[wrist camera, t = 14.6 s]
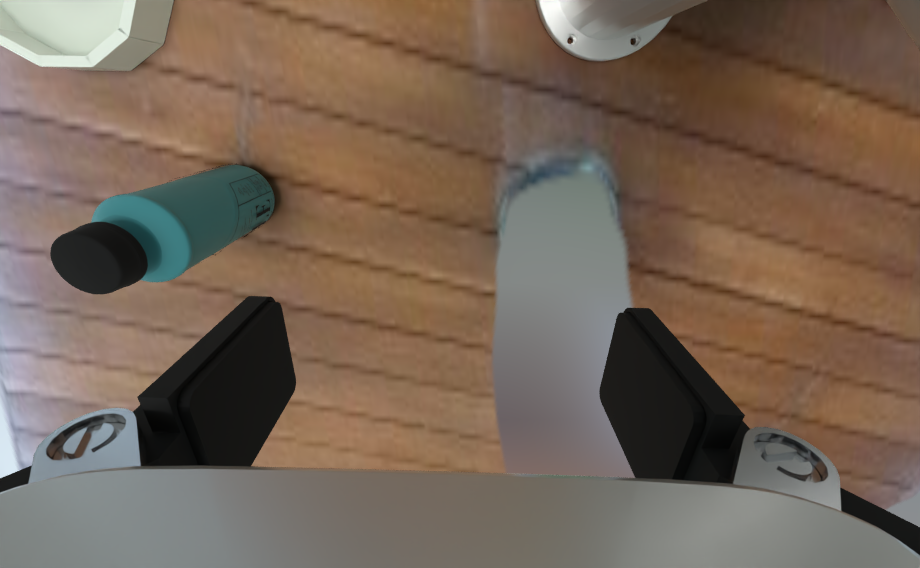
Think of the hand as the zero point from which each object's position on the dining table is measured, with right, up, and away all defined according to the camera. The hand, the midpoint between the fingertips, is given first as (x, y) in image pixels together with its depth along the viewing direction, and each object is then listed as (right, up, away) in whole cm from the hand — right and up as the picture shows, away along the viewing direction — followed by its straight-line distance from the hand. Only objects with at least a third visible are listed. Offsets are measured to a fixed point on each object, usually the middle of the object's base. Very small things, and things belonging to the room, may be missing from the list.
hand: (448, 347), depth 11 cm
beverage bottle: (-21, +11, +29) cm, 38 cm away
